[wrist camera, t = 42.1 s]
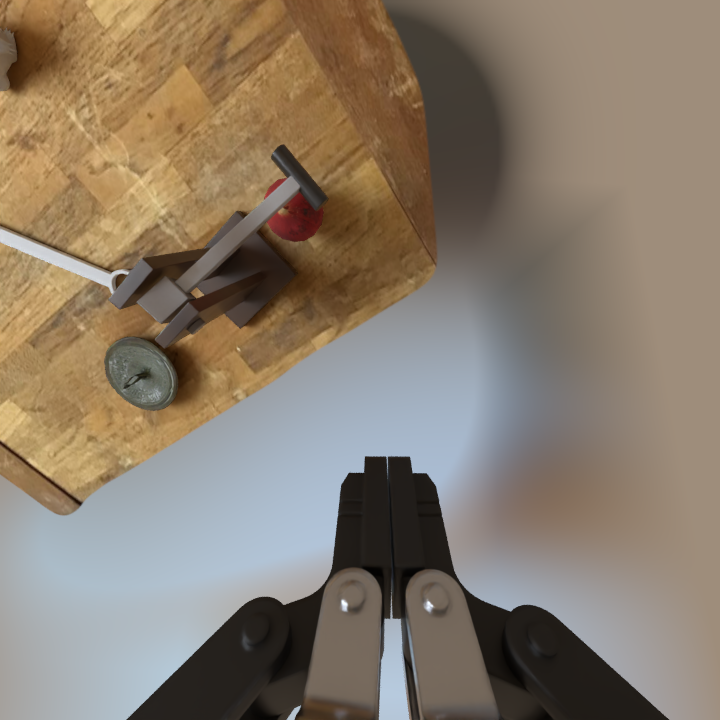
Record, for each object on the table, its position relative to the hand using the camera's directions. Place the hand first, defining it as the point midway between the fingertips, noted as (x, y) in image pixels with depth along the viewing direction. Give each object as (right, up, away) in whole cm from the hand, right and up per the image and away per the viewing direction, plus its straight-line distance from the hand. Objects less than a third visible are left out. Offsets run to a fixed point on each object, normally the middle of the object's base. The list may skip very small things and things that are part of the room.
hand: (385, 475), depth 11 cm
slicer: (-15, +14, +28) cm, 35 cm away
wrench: (-39, +17, +28) cm, 51 cm away
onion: (-7, +20, +25) cm, 33 cm away
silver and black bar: (-11, +13, +16) cm, 23 cm away
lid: (-30, +3, +34) cm, 45 cm away
